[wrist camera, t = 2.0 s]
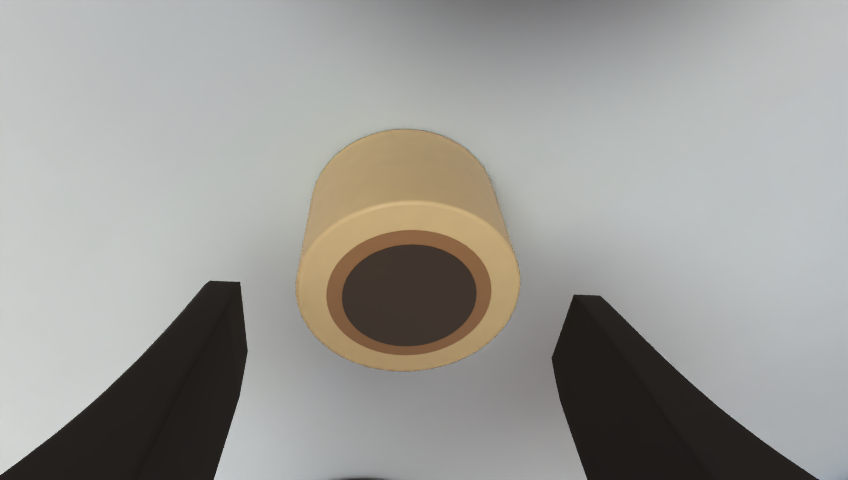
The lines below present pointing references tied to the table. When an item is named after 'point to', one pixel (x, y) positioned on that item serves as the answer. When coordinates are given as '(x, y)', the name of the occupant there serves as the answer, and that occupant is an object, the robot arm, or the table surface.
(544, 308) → the table surface
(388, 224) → the tape roll
